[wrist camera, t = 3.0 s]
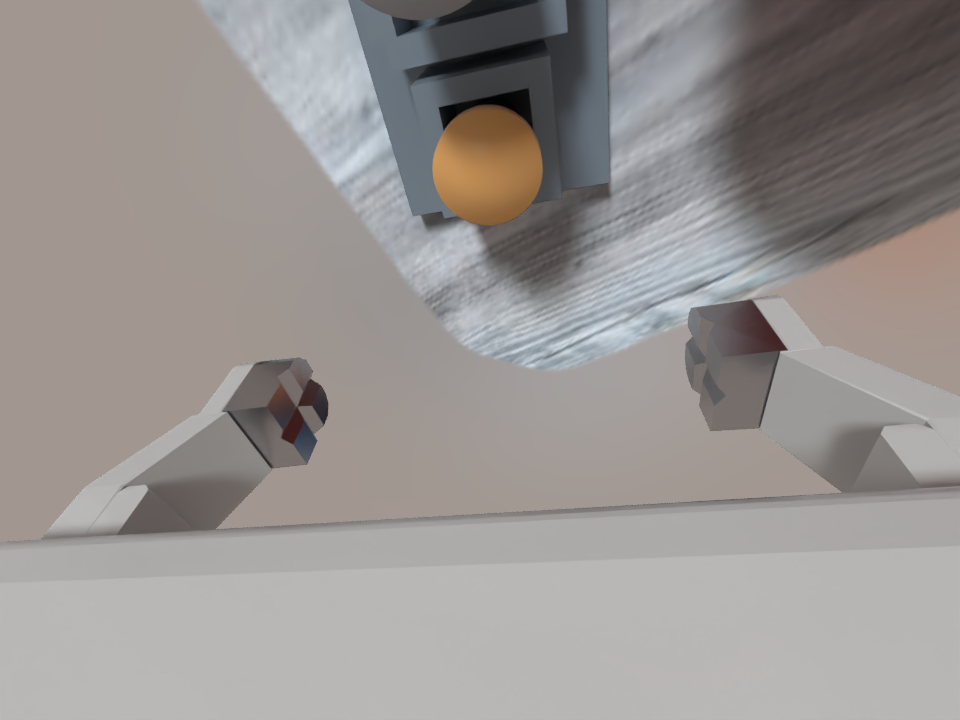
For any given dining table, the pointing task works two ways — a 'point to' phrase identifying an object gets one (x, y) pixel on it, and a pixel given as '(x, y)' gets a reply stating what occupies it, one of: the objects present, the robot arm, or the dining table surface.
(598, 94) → the grey double open block
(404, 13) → the cartridge
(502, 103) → the brown egg
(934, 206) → the dining table surface
